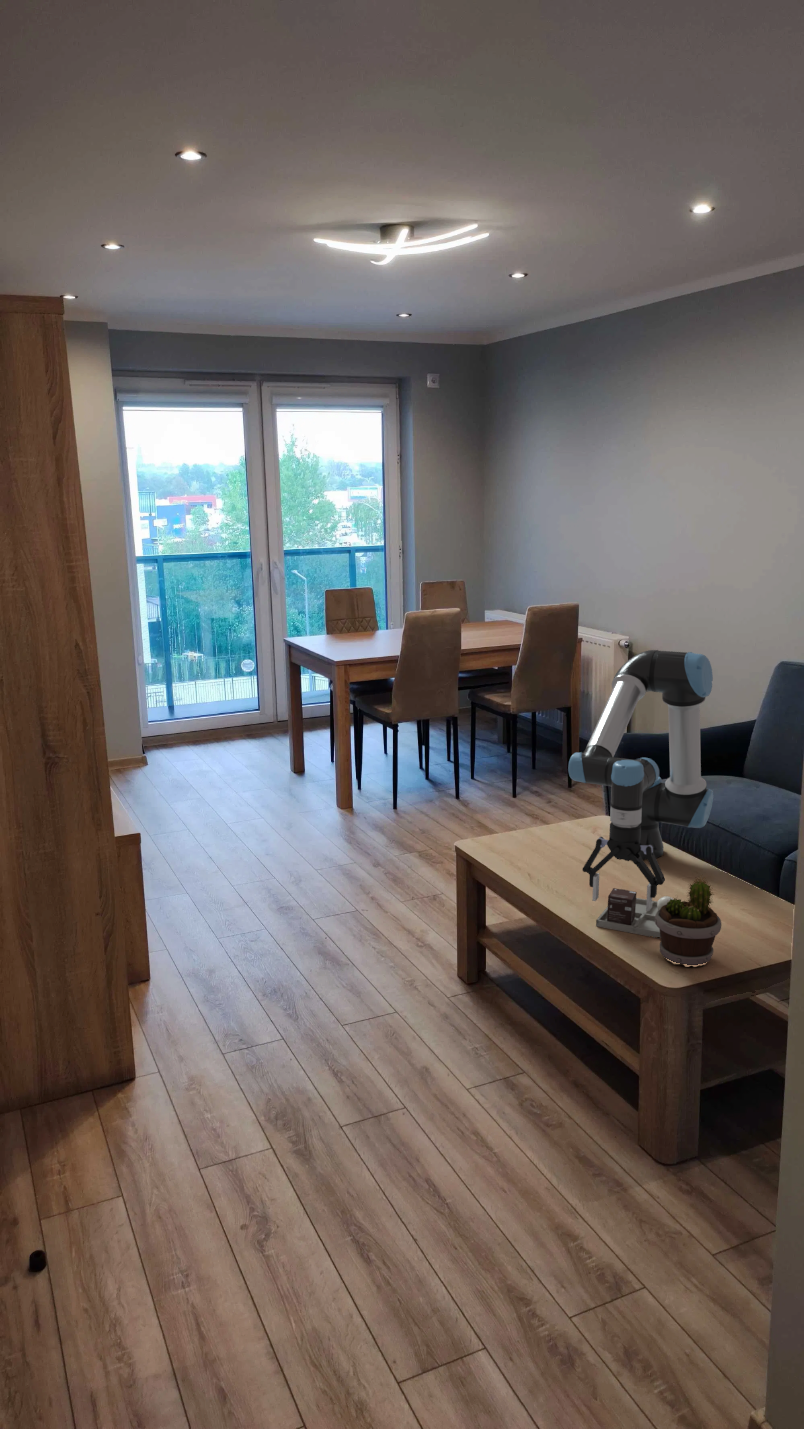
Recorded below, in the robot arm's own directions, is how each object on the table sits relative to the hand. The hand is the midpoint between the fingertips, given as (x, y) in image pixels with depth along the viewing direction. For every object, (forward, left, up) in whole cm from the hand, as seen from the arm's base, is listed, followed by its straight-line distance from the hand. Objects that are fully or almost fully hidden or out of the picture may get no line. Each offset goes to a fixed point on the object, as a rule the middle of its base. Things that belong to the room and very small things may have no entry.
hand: (621, 904), depth 253 cm
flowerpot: (+14, +19, -5) cm, 24 cm away
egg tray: (-4, +5, -5) cm, 8 cm away
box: (0, 0, -5) cm, 5 cm away
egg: (-9, +9, -5) cm, 14 cm away
